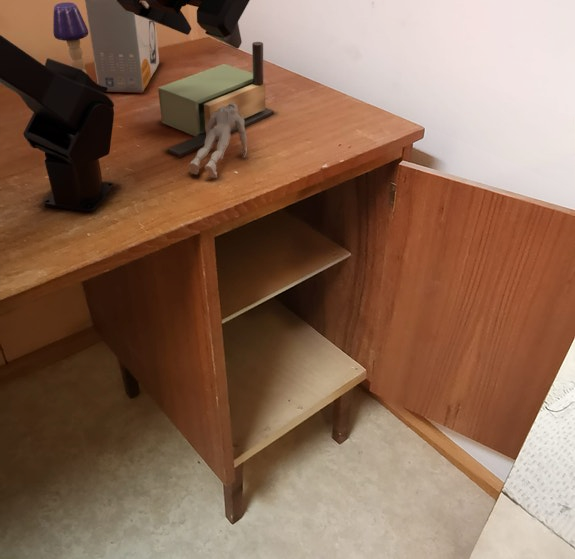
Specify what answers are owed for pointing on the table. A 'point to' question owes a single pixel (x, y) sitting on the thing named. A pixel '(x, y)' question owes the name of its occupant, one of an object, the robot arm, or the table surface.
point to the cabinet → (201, 102)
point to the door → (244, 91)
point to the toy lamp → (70, 30)
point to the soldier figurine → (220, 137)
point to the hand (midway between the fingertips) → (213, 38)
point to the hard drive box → (121, 46)
